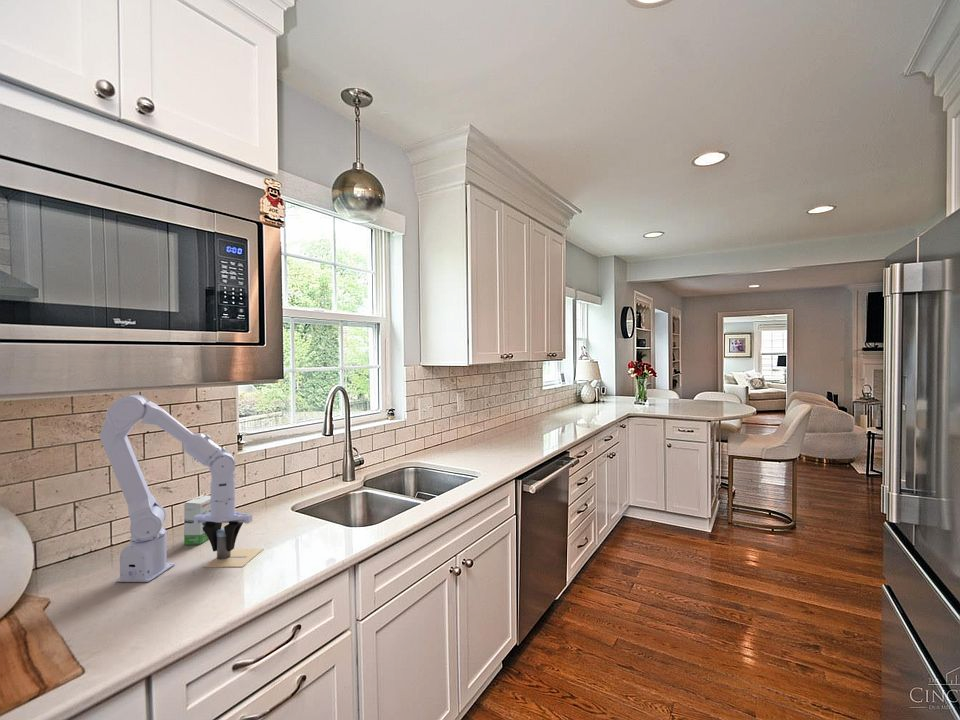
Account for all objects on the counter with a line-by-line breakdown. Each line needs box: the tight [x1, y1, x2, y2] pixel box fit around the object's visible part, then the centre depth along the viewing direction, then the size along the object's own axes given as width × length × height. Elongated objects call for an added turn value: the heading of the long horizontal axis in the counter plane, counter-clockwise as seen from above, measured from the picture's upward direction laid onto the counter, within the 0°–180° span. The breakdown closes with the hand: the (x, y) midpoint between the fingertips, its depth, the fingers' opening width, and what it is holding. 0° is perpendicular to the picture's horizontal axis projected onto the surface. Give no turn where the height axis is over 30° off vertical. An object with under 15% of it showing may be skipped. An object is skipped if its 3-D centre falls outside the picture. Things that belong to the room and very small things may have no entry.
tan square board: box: [202, 548, 264, 568], centre depth 123 cm, size 11×10×1 cm
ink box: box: [183, 494, 211, 546], centre depth 136 cm, size 9×5×12 cm, turn 179°
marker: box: [216, 528, 231, 560], centre depth 123 cm, size 3×3×7 cm
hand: (223, 549), depth 123 cm, fingers closed on marker, 3 cm apart
